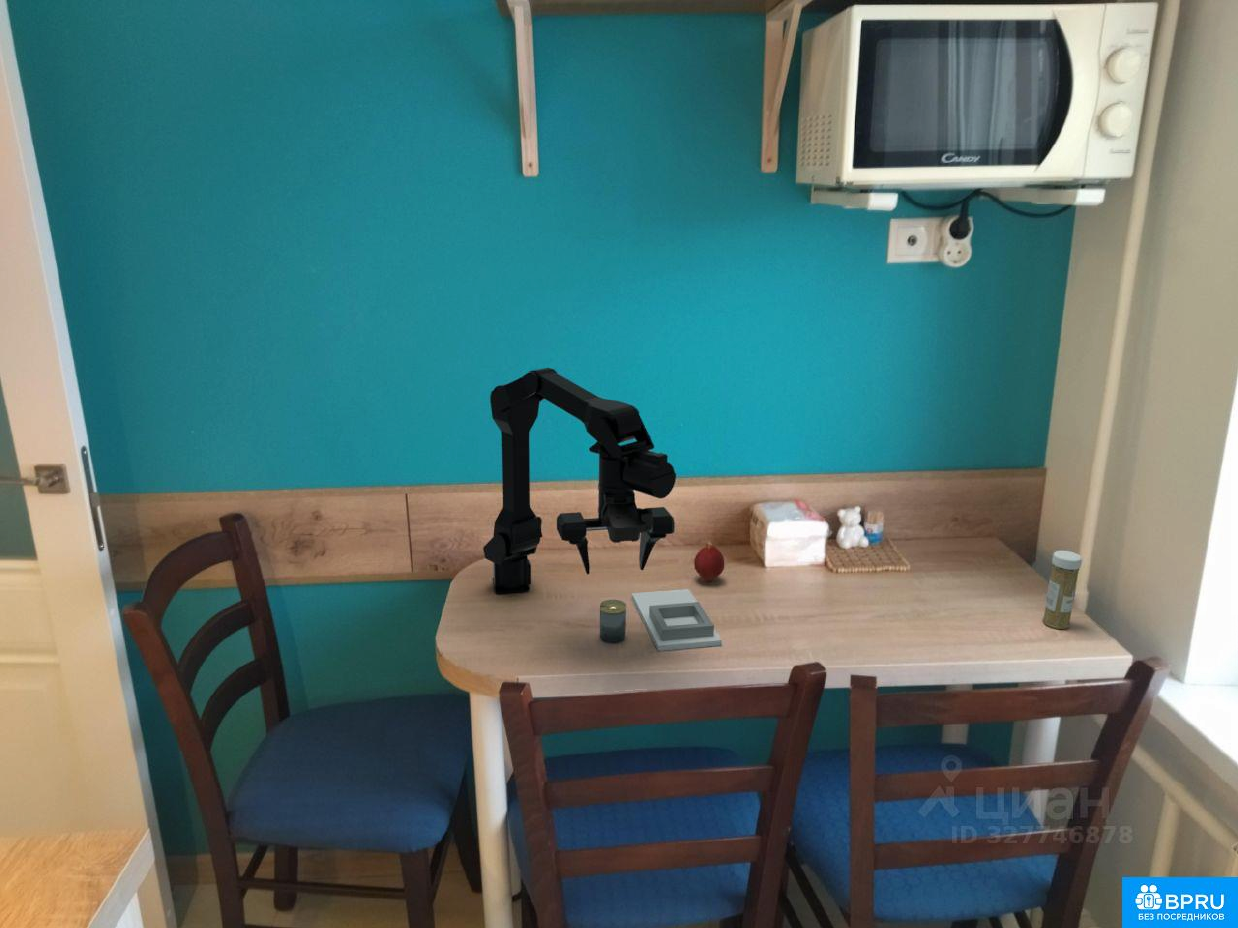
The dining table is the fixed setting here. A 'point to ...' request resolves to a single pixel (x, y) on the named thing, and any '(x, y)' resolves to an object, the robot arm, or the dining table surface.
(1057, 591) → the sprinkles bottle
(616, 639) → the lidded tin can
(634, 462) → the robot arm
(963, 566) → the dining table surface
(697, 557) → the onion
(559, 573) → the dining table surface
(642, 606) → the dock
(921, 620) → the dining table surface
